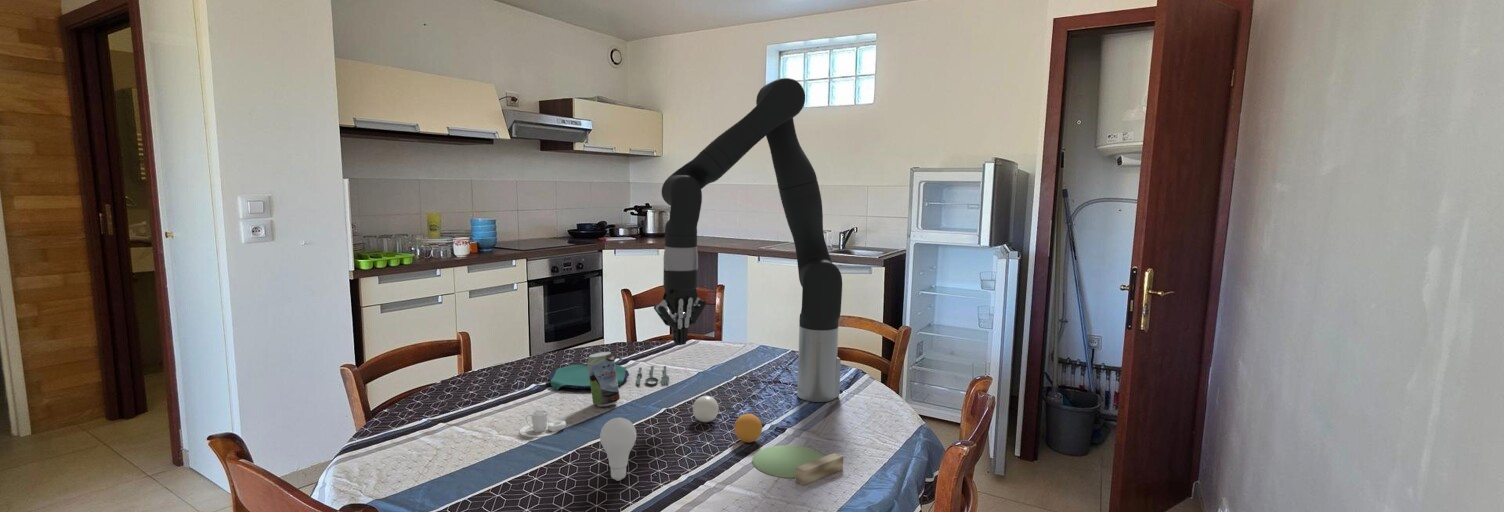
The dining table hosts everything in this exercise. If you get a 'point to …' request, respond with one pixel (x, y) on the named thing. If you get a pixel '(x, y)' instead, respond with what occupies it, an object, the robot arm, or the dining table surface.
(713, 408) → the white ball
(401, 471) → the dining table surface
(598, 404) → the beverage can
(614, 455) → the lightbulb
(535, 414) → the teacup and saucer
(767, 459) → the green mark
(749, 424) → the orange ball
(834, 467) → the stopper wall
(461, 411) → the dining table surface
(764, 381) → the dining table surface
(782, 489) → the dining table surface
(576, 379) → the cutlery set
